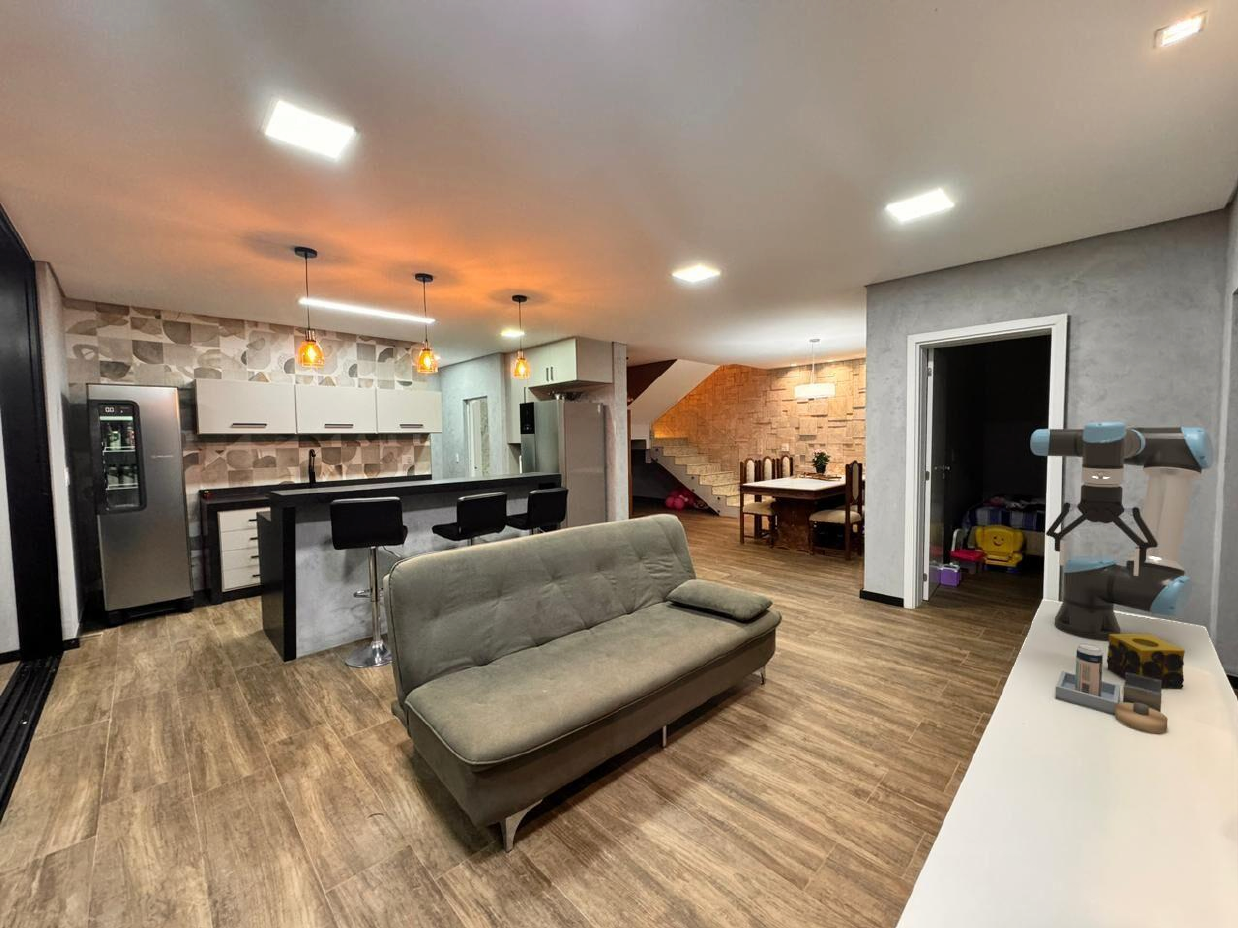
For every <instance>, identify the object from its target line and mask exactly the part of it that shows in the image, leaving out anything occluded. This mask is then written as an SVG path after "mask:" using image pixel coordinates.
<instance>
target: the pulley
mask: <svg viewBox="0 0 1238 928" xmlns="http://www.w3.org/2000/svg"><path fill="white" fill-rule="evenodd" d="M1114 718H1115V719H1116V720H1117V721H1118V722H1119V723H1121V724H1122V725H1125V726H1126V727H1128V728H1131V729H1133V730H1137V731H1139V732H1142V733H1146V734H1147V733H1149V734H1154V735H1155V734H1156V735H1159V734H1162V735H1163V734H1166V733H1167V732H1168V717H1167V716H1166V715H1165V714H1164V713H1162V712H1161V713H1160V712H1159V711H1157V710H1154V709H1152V708H1149V706H1147V705H1145V704H1143V703H1138V702H1135V703H1127V702H1123V701H1121V702H1119V703H1118V705H1116V706H1115V715H1114Z"/></svg>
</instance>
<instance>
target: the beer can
mask: <svg viewBox="0 0 1238 928" xmlns="http://www.w3.org/2000/svg"><path fill="white" fill-rule="evenodd" d="M1075 649H1076V656H1075V657H1076V661H1075V674H1076V678H1075V690H1076V691H1080V692H1084V693H1088V694H1091V695H1095V696H1099V697H1102V696H1101V685H1102V681H1103V661H1104V660H1103V657H1104V652H1103V650H1102V648H1101V647H1100V646H1099V645H1094V644H1090V643H1083V642H1082V643H1079V644H1078V645H1077V646H1076V648H1075Z"/></svg>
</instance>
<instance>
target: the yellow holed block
mask: <svg viewBox="0 0 1238 928" xmlns="http://www.w3.org/2000/svg"><path fill="white" fill-rule="evenodd" d="M1107 649H1108V650H1107V651H1108V652H1107V659H1106V663H1107V671H1109V672H1112V674H1115V675H1116V676H1118V677H1119V678H1121V679H1123V680H1125V674H1126V672H1129V673H1133V674H1138V675H1142V676H1146V677H1150V678H1155V679H1159V680H1162V684H1161V689H1174V690H1177V689H1180V690H1181V689H1183V688H1184V687H1185V686H1184V680H1185V679H1184V677H1185V676H1184V665H1185V663H1184V656H1185V652H1186V650H1185V649H1183V648H1181V647H1179V646H1177V645H1174V644H1172V643H1170V642H1167V641H1165V640H1163V639H1161V638H1159V637H1157V636H1154V635H1152V634H1150V633H1120V634H1109V640H1108V648H1107Z"/></svg>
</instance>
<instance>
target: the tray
mask: <svg viewBox="0 0 1238 928" xmlns="http://www.w3.org/2000/svg"><path fill="white" fill-rule="evenodd" d="M1075 678H1076V673H1073V672H1069V671H1064V670H1061V672H1060V674H1059V677H1058V680H1057V683H1056V685H1055V699H1056V700H1060V701H1063V702H1067V703H1070V704H1074V705H1077V706H1081V707H1085V708H1088V709H1091V710H1096V711H1098V712H1101V713H1106V714H1108V715H1109V714H1110V715H1112V716H1115V706H1116V705H1118V703H1120V697H1121V696H1120V695H1121V685H1120V684H1116V683H1114V682H1113V683H1112V682H1109V681H1105V680H1102V685H1101V696H1102V697H1099V696H1095V695H1091V694H1088V693H1084V692H1080V691H1076V690H1075Z"/></svg>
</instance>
